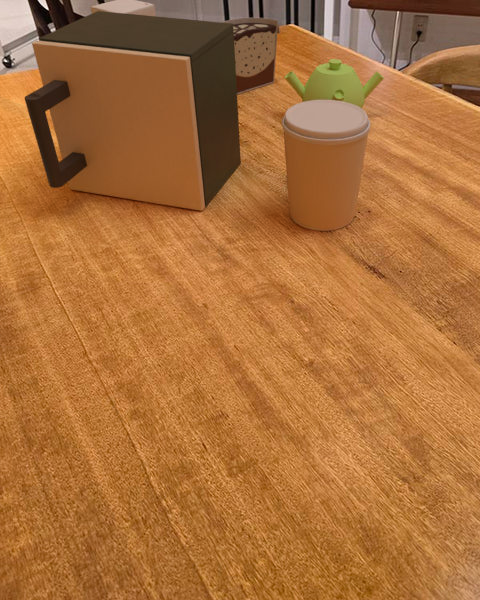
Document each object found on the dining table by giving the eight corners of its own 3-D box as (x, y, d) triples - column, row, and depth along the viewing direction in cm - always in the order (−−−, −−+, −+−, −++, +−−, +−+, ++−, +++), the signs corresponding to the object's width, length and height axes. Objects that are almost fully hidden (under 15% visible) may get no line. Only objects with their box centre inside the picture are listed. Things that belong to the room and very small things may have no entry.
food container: (257, 72, 107) (255, 12, 101) (280, 80, 104) (280, 20, 98) (203, 88, 101) (197, 25, 94) (225, 98, 97) (221, 34, 91)
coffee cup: (372, 204, 71) (383, 107, 64) (344, 243, 65) (352, 140, 57) (302, 187, 74) (304, 93, 67) (268, 223, 68) (266, 122, 60)
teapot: (329, 96, 98) (332, 43, 93) (384, 116, 92) (390, 61, 87) (282, 115, 92) (281, 59, 87) (337, 137, 86) (340, 79, 81)
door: (181, 237, 65) (159, 79, 54) (42, 212, 69) (-5, 59, 58) (205, 207, 70) (190, 56, 59) (74, 185, 74) (37, 40, 63)
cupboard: (206, 207, 70) (191, 54, 59) (75, 185, 74) (38, 38, 63) (241, 163, 79) (233, 23, 68) (123, 146, 83) (97, 10, 72)
